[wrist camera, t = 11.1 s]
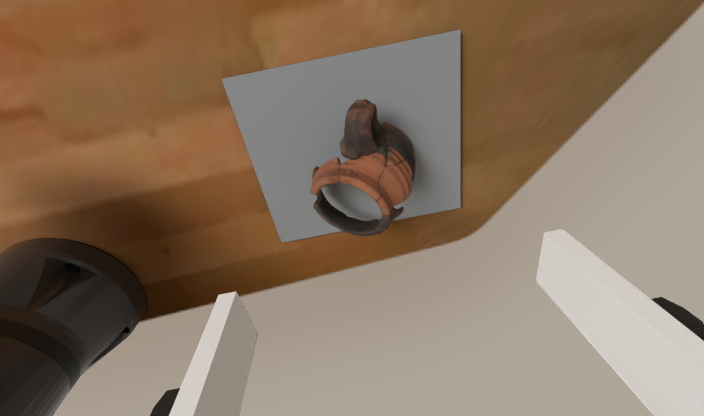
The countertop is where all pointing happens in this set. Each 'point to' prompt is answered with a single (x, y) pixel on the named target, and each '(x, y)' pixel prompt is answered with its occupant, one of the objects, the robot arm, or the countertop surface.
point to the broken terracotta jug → (367, 170)
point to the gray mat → (329, 122)
